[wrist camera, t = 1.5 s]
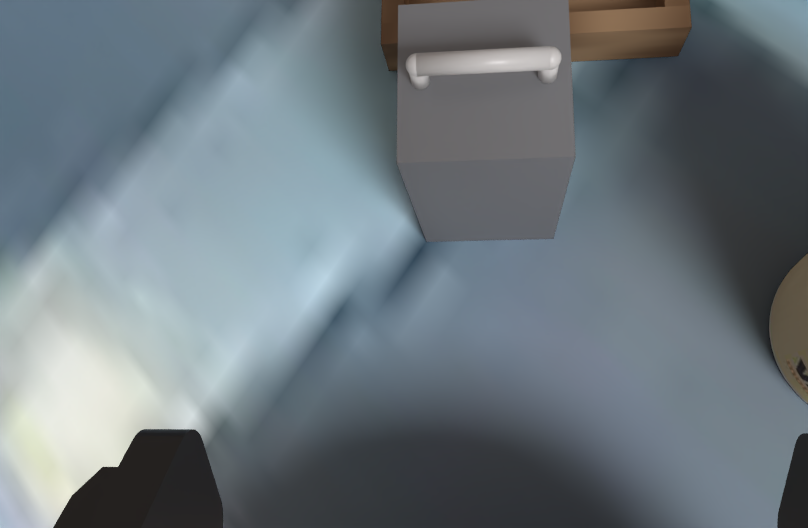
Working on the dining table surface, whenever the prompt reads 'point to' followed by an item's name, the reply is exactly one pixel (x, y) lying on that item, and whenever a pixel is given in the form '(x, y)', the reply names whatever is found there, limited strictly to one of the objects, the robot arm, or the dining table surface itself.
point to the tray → (591, 28)
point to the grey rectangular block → (485, 117)
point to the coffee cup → (792, 328)
